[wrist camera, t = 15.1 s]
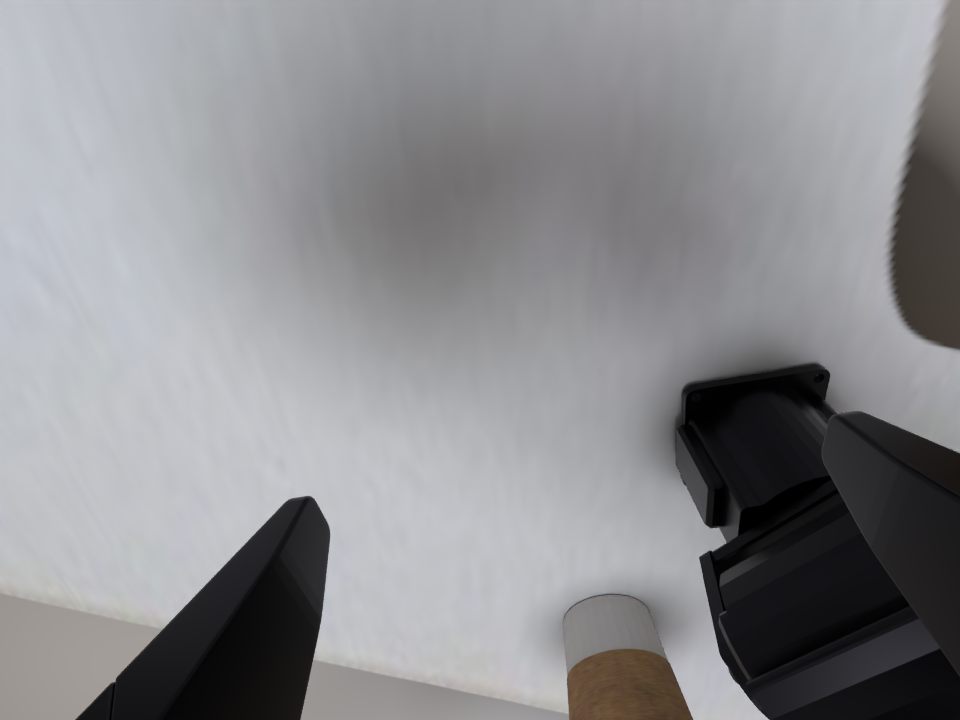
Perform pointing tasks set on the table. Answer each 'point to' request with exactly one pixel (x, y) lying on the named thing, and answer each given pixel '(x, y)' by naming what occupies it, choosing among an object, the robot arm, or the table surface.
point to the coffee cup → (618, 663)
